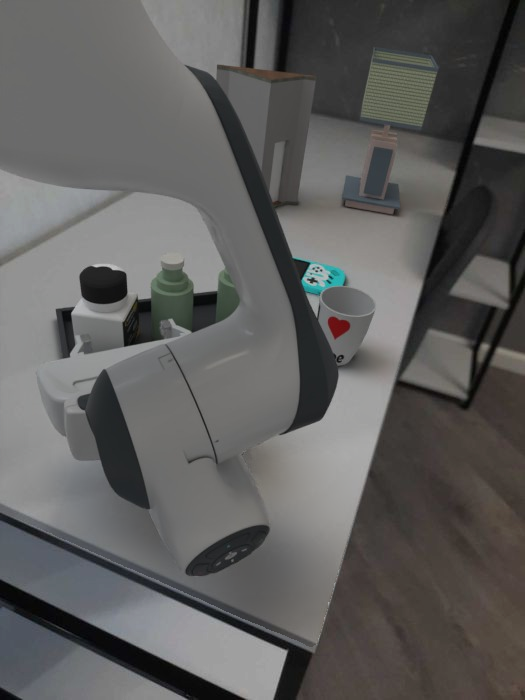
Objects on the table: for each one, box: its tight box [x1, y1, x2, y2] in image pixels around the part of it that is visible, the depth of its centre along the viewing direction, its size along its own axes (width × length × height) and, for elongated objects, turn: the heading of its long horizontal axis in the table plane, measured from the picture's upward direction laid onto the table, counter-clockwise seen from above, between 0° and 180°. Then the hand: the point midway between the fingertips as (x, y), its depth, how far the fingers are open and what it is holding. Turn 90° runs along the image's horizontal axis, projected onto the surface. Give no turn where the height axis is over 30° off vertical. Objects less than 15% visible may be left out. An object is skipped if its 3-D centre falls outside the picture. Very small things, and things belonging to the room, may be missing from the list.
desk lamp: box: [341, 46, 439, 215], centre depth 124 cm, size 18×14×33 cm
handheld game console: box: [292, 256, 346, 296], centre depth 98 cm, size 10×16×1 cm, turn 73°
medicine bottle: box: [71, 263, 139, 353], centre depth 72 cm, size 7×7×12 cm
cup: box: [316, 285, 377, 367], centre depth 77 cm, size 8×8×10 cm
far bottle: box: [215, 266, 240, 324], centre depth 78 cm, size 6×6×13 cm
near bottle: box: [150, 252, 195, 341], centre depth 75 cm, size 6×6×13 cm
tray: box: [55, 290, 218, 359], centre depth 78 cm, size 32×16×2 cm, turn 112°
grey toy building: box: [215, 63, 317, 209], centre depth 114 cm, size 21×10×28 cm, turn 92°
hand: (125, 331), depth 59 cm, fingers open, 8 cm apart
